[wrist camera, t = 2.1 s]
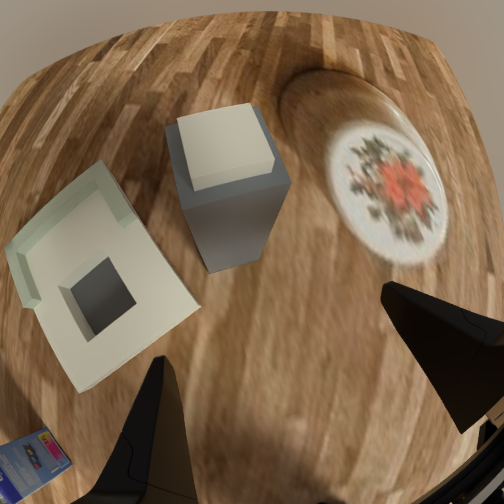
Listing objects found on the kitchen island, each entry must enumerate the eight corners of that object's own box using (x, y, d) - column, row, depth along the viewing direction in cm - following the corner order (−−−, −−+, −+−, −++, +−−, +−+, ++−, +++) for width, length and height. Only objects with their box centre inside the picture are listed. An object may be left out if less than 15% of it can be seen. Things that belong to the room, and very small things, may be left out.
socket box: (201, 306, 23) (195, 303, 19) (91, 388, 20) (69, 396, 16) (115, 179, 25) (101, 158, 21) (26, 257, 22) (4, 248, 18)
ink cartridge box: (45, 423, 18) (-42, 457, 4) (75, 463, 17) (2, 518, 3) (14, 445, 16) (-56, 472, 2) (39, 480, 15) (-22, 520, 1)
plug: (258, 259, 24) (297, 170, 10) (209, 273, 24) (177, 199, 9) (243, 214, 25) (259, 91, 11) (196, 227, 25) (160, 112, 10)
